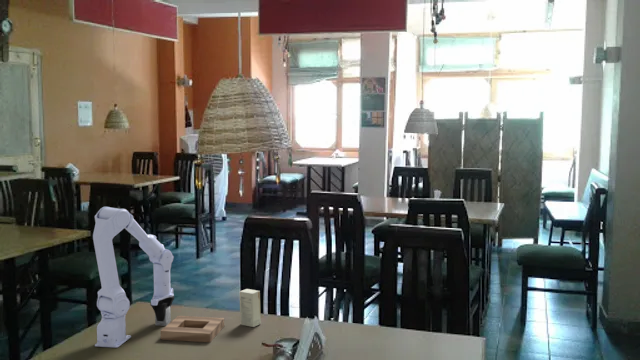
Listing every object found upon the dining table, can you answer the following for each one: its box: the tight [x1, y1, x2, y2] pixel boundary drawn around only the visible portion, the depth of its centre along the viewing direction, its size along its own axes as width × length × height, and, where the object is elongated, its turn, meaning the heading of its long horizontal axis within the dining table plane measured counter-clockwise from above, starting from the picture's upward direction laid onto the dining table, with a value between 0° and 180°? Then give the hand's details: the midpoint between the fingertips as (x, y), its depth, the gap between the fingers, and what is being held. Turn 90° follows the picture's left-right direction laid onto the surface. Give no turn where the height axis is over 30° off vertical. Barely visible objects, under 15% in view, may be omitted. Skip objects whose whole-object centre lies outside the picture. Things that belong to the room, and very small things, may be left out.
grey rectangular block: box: [154, 306, 172, 327], centre depth 202 cm, size 4×4×6 cm
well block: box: [160, 315, 225, 343], centre depth 194 cm, size 15×17×3 cm
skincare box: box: [239, 288, 262, 328], centre depth 202 cm, size 6×4×12 cm
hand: (163, 318), depth 202 cm, fingers closed on grey rectangular block, 4 cm apart
